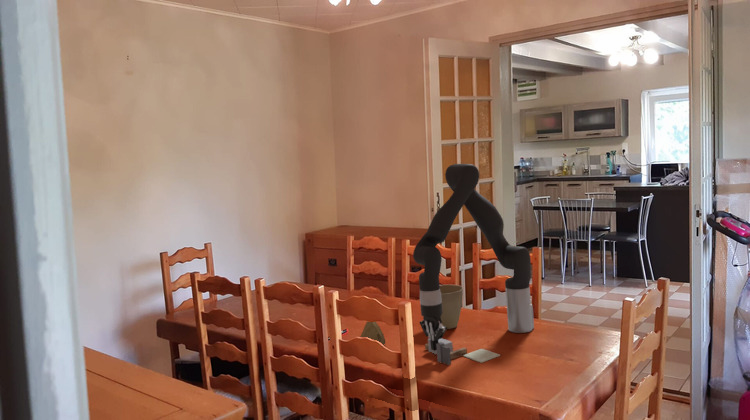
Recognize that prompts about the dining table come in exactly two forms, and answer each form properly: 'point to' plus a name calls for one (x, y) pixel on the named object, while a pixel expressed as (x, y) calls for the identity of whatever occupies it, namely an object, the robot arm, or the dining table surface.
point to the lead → (446, 342)
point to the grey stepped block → (443, 353)
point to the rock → (373, 332)
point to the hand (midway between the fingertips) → (434, 349)
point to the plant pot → (451, 304)
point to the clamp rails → (453, 352)
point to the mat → (481, 355)
